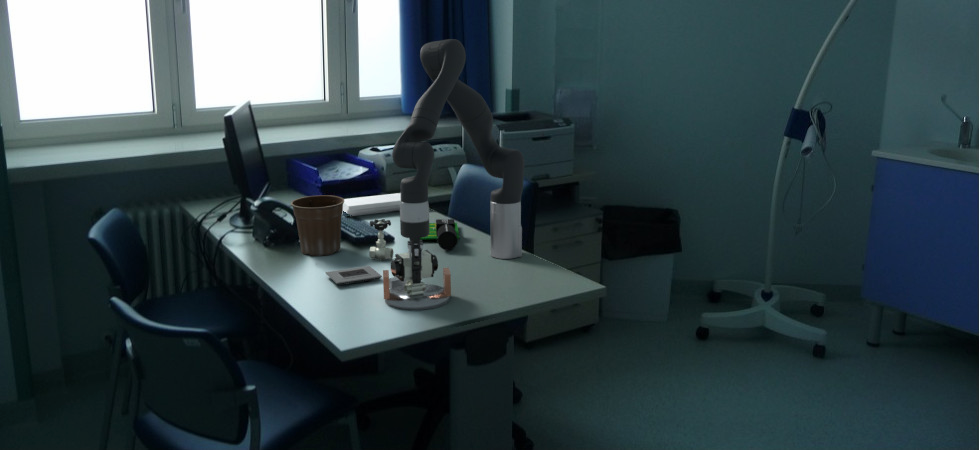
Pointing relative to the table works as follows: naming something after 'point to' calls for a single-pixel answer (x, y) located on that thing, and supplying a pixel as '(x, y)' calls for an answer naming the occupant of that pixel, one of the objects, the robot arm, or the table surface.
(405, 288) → the pneumatic valve
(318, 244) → the plant pot
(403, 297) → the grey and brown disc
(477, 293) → the table surface
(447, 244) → the circuit board with cylinder
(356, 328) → the table surface
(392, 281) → the grey rectangular block
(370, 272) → the electrical outlet
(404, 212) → the robot arm
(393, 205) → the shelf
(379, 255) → the valve
